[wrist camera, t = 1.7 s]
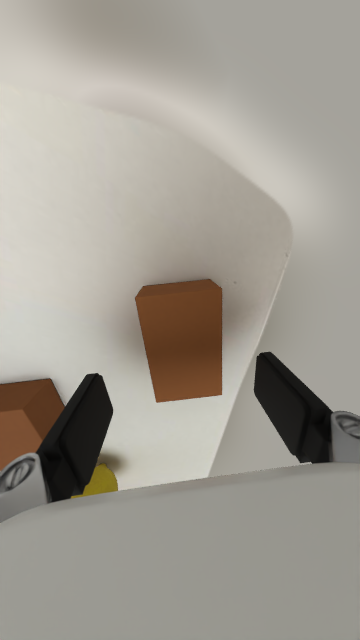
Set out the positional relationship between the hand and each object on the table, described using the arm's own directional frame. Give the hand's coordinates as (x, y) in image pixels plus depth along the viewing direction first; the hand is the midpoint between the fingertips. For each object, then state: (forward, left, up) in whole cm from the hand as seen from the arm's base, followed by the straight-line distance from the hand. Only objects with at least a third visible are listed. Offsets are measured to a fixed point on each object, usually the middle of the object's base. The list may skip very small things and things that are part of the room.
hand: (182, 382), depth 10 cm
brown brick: (+8, -16, -6) cm, 18 cm away
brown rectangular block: (0, 0, -6) cm, 6 cm away
